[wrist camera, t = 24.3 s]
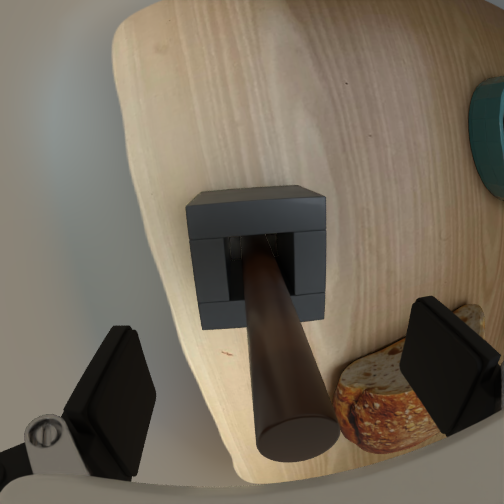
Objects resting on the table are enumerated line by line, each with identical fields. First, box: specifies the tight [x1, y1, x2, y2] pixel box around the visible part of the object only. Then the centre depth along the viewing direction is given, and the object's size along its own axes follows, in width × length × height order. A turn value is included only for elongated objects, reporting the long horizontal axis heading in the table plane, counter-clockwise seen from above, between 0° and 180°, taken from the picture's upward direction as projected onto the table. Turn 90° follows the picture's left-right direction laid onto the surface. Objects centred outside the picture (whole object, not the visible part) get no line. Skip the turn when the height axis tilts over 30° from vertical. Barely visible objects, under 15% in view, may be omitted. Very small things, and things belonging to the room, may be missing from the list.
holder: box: [186, 185, 326, 330], centre depth 22 cm, size 8×8×8 cm
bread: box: [333, 304, 485, 454], centre depth 27 cm, size 20×18×10 cm
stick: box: [240, 234, 340, 462], centre depth 16 cm, size 2×2×20 cm
